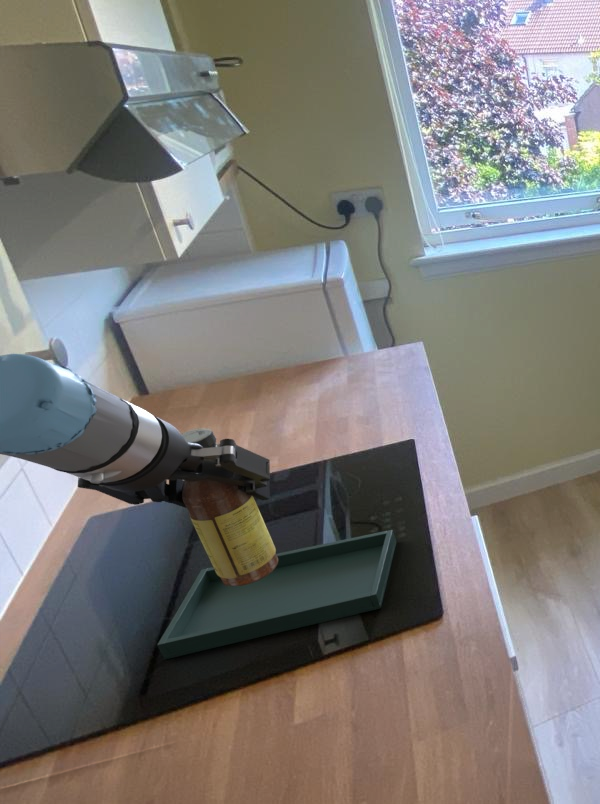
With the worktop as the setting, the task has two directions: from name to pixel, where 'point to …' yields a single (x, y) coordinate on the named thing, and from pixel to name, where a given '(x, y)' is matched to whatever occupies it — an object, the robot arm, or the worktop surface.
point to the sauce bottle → (228, 525)
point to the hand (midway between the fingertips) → (234, 494)
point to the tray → (283, 595)
